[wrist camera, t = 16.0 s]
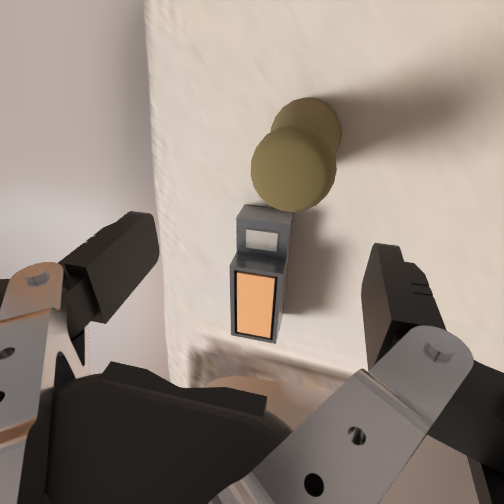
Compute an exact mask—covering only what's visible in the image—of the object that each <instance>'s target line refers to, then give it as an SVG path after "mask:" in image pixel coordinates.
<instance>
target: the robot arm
mask: <svg viewBox="0 0 504 504" xmlns="http://www.w3.org/2000/svg"><path fill="white" fill-rule="evenodd" d="M158 257H159V244H158V238H157V233H156V227H155V222H154V218H153V216H152V215H151V214H149V213H142V212H135V211H130V212H128V213H127V214H126V215H124V216H123V217H122V218H120V219H119V220H118V221H117V222H115V223H113V224H111V225H108V226H106V227H104V228H102V229H101V230H100V231H98V232H97V233H96V234H95V235H94V237H91V238H89V239H88V240H87V241H86V243H83V244H82V245H80V246H79V247H78V248H77V249H75V250H74V251H73V252H71V253H70V254H69V255H67V256H66V257H65V258H64V259H62V260H61V261H60V262H58V263H54V262H43V263H38V264H34V265H31V266H28V267H26V268H24V269H22V270H20V271H18V272H17V273H16V274H14V275H13V276H12V278H11V279H0V504H379V503H380V502H381V501H382V499H383V498H384V496H385V495H386V493H387V492H388V490H389V489H390V487H391V486H392V484H393V483H394V482H395V480H396V479H397V477H398V476H399V474H400V473H401V471H402V470H403V469H404V467H405V466H406V464H407V463H408V461H409V460H410V458H411V457H412V456H413V454H414V453H415V451H416V450H417V448H418V447H419V445H420V444H421V443H422V441H423V440H424V438H425V437H426V435H429V436H431V437H433V438H435V439H436V440H438V441H440V442H442V443H444V444H446V445H448V446H450V447H452V448H454V449H455V450H457V451H459V452H461V453H463V454H465V455H467V458H468V462H469V465H470V469H471V473H472V477H473V481H474V485H475V489H476V492H477V496H478V500H479V504H504V373H503V372H500V371H498V370H495V369H493V368H490V367H488V366H485V365H483V364H481V363H479V362H477V361H475V360H473V356H472V353H471V351H470V350H469V348H468V347H467V346H466V345H465V344H464V343H463V342H462V341H461V340H460V339H459V338H457V337H456V336H455V335H453V334H451V333H449V332H448V331H447V330H446V328H445V325H444V322H443V320H442V317H441V315H440V312H439V309H438V307H437V304H436V302H435V299H434V297H433V294H432V291H431V289H430V287H429V284H428V281H427V278H426V276H425V274H424V273H423V272H422V271H421V270H420V269H419V268H418V267H417V266H416V265H415V264H414V263H409V262H404V260H403V256H402V253H401V250H400V247H399V246H395V245H388V244H380V243H374V245H373V247H372V250H371V253H370V257H369V260H368V264H367V268H366V271H365V275H364V278H363V282H362V289H361V300H362V311H363V321H364V331H365V342H366V352H367V362H368V372H367V371H366V370H364V369H360V370H358V371H357V372H356V373H354V374H353V375H352V376H351V377H350V378H349V379H348V380H347V381H346V382H345V383H344V384H343V385H342V386H341V387H340V388H339V389H338V390H336V391H335V392H334V393H333V394H332V395H331V396H330V397H329V398H328V399H327V400H326V401H325V402H324V403H323V404H322V405H321V406H320V407H319V408H318V409H317V410H315V411H314V412H313V413H312V414H311V415H310V416H309V417H308V418H307V419H306V420H305V421H304V422H303V423H302V424H301V425H300V426H299V427H298V428H296V429H295V430H294V431H293V430H292V428H291V427H289V426H288V425H287V424H286V423H285V422H284V421H283V420H281V419H280V418H278V417H277V416H276V415H274V414H272V413H271V412H269V411H267V410H266V404H267V396H263V395H258V394H253V393H249V392H245V391H240V390H236V389H232V388H227V387H215V388H214V387H213V388H181V387H178V386H176V385H174V384H172V383H170V382H169V381H167V380H165V379H163V378H161V377H160V376H158V375H156V374H154V373H152V372H151V371H149V370H147V369H143V368H139V367H134V366H130V365H125V364H121V363H117V362H112V361H111V362H110V363H109V365H108V366H107V368H106V369H105V370H104V372H103V373H102V374H94V375H90V367H89V366H90V365H89V364H90V361H89V331H88V328H87V325H88V323H89V322H90V321H94V322H99V323H104V324H106V323H107V322H108V321H109V319H110V318H111V317H112V316H113V315H114V313H115V312H116V311H117V310H118V309H119V307H120V306H121V305H122V304H123V303H124V301H125V300H126V299H127V298H128V297H129V295H130V294H131V293H132V292H133V291H134V289H135V288H136V287H137V286H138V285H139V283H140V282H141V281H142V280H143V279H144V277H145V276H146V275H147V274H148V273H149V271H150V270H151V269H152V268H153V267H154V265H155V264H156V263H157V261H158Z"/></svg>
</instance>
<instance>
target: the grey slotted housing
mask: <svg viewBox="0 0 504 504" xmlns="http://www.w3.org/2000/svg"><path fill="white" fill-rule="evenodd" d="M292 219H293V212H288V211H281V210H278V209H276V208H267V207H259V206H250V205H244V206H243V208H242V209H241V211H240V213H239V214H238V216H237V252H236V254H235V256H234V258H233V260H232V262H231V264H230V304H231V335H233V336H238V337H244V338H249V339H254V340H259V341H264V342H269V343H274V344H276V341H277V336H278V332H279V329H280V324H281V319H282V314H283V305H284V296H285V286H286V277H287V267H288V258H289V248H290V239H291V229H292ZM238 271H244V272H250V273H257V274H263V275H270V276H276V277H277V283H276V295H275V307H274V319H273V327H272V331H271V335H270V338H268V337H262V336H257V335H252V334H247V333H241V332H237V272H238Z"/></svg>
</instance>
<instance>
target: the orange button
mask: <svg viewBox="0 0 504 504" xmlns="http://www.w3.org/2000/svg"><path fill="white" fill-rule="evenodd" d="M276 283H277V277H276V276H270V275H263V274H257V273H250V272H244V271H238V272H237V332H241V333H247V334H252V335H257V336H262V337H268V338H270V335H271V331H272V327H273V319H274V307H275V295H276Z"/></svg>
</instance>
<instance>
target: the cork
mask: <svg viewBox="0 0 504 504" xmlns="http://www.w3.org/2000/svg"><path fill="white" fill-rule="evenodd" d="M341 135H342V134H341V125H340V121H339V119H338V117H337V115H336V113H335V111H334V110H333V109H332V108H331V107H330V106H329V105H328V104H326V103H324V102H322V101H320V100H318V99H313V98H302V99H298V100H294V101H292V102H291V103H289V104H288V105H286V106H285V107H283V108H282V109H281V111H280V112H279V113H278V114H277V116H276V117H275V120H274V122H273V125H272V127H271V132H270V133H269V134H267V135H266V136H265V137H264V138H263V140H262V141H261V142H260V143H259V145H258V146H257V147H256V149H255V152H254V155H253V157H252V161H251V177H252V181H253V185H254V188H255V189H256V191H257V193H258V194H259V196H260V197H261V198H262V199H263V200H264V201H265V202H266V203H267V204H269V205H270V206H272V207H274V208H276V209H278V210H281V211H288V212H298V211H305V210H307V209H309V208H311V207H313V206H315V205H317V204H318V203H319V202H320V201H321V200H322V199H323V198H324V197H326V195H327V194H328V192H329V191H330V189H331V187H332V185H333V184H334V180H335V175H336V170H337V168H336V160H335V153H336V151H337V149H338V147H339V145H340V140H341Z"/></svg>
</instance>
